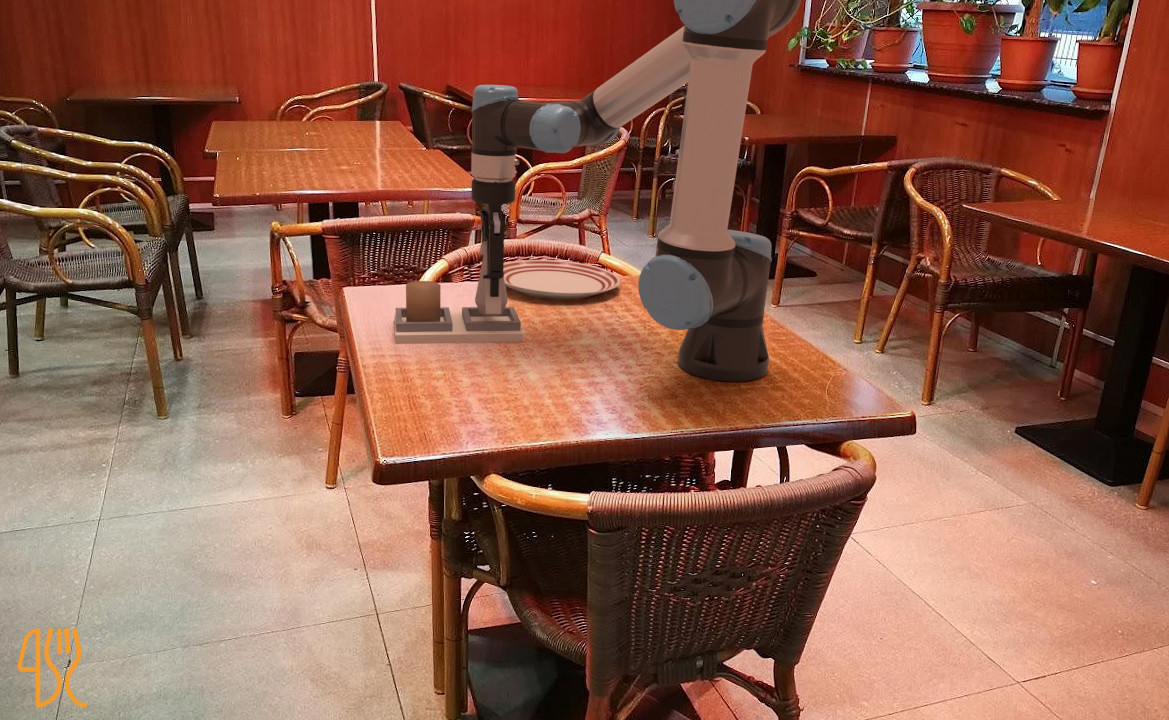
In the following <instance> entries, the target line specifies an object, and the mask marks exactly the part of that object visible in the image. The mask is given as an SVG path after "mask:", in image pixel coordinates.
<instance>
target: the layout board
mask: <svg viewBox="0 0 1169 720" xmlns="http://www.w3.org/2000/svg"><path fill="white" fill-rule="evenodd" d="M393 319H394V334H395V335H394V336H395V337H394V339H395V344H398V345H399V344H449V343H453V344H454V343H458V344H459V343H461V344H462V343H515V342H516V343H517V342H518V343H520V342H521V343H523V341H524V333H523V331H522V330H523V329H522V327H521V326H522V322H521V320H520V317H519V315H518V313H517V310H516V309H515V306H505V309H504V311H503V313H502V314H500V315H496V316H490V315H483V314H481V313H480V312H479V310H478V307H477V306H471V307H470V306H468V307H467V306H463V307H461V311H460V312H454V311H452V312H451V311H450V307H449V306H448V307H446V306H445V307H441V284H440V283H438V282H435V281H429V280H415V281H409V282H407V283H406V284H405V307H395V312H394V318H393Z"/></svg>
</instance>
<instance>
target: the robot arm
mask: <svg viewBox="0 0 1169 720" xmlns="http://www.w3.org/2000/svg"><path fill="white" fill-rule="evenodd" d="M801 2H802V0H673V5H674V9H675V12H676V13H678V15H679V18H680V21H681V22H682V23H683V26H682V27H681V28H679V29H678V30H676V31H675V32H674V33H673V34H670V35H669V36H668V37H667V38H665V39H664V40H662V41H661V42H660V43H658V44H657V45H656V46H654V47H652V48H651V49H650V50H649V51H647V52H646V53H644V54H643V55H642V56H640V57H638V58H637V59H636V60H635V61H634V62H632V63H630V64H629V65H628V66H626V67H624V69H622V70H621V71H619V72H618V73H616V74H615V75H614V76H613V77H610V78H609V79H608V80H607V81H605V82H604V83H603V84H601V85H600V86H598V87H597V88H596V89H594V90H593V91H591V92H590V93H589V94H588V95H586V96H585V97H583V98H582V99H580V100H572V101H571V100H568V101H554V102H536V101H524V100H520V99H519V95H518V94H519V93H518V89H517V87H515V86H512V85H503V84H502V85H501V84H500V85H499V84H480V85H477V86H476V87H474V90H473V92H472V93H473V94H472V95H473V96H472V105H471V107H472V108H471V119H472V120H471V121H472V124H471V125H472V127H471V129H472V130H471V131H472V132H471V133H472V139H471V140H472V147H471V148H472V149H471V162H470V163H471V167H470V168H471V171H470V173H471V176H472V177H473V179H472V180H471V200H472V201H473V202H474V203H477V204H481V205H483V204H484V206H481V207H482V208H481V210H480V220H481V244H482V243H483V242H484V241H487V275H483V279H486V304H485V313H486V314H501V295H502V278H503V277H504V273H503V265H504V263H505V262H504V261H505V260H504V254H505V252H504V247H505V228H506V227H505V226H506V220H507V219H506V213H504V210H503V209H502V207H503V205H509V204H513V203H514V202H515V201H516V182H515V180H514V178H515V177H516V169H517V168H516V166H519V165H520V160H519V159H518V158H517V157H516V155H517V148H523V149H529V150H533V151H535V150H536V151H541V152H544V153H546V154H551V153H557V154H565V153H568V152H570V151H571V150H572V149H573V148H574V147H576V148H577V147H586V146H600V145H601V144H602V145H603V144H605V143H608V142H611V141H613V140H614V139H615V138H616V137H617V135H618V133H619V131H620V129H621V128H622V127H623V126H624V125H626V124H627V123H628V122H631V121H632V120H633V119H635V118H636V117H637V116H639V115H641V114H642V113H644V112H645V111H647V110H648V109H649V108H651V107H653V106H655V104H657V103H659V102H660V101H662V100H663V99H665V98H666V97H667V96H669V95H671V94H672V93H674V92H676V91H678V89H680V88H681V87H683V86H685V85H686V84H687V90H686V97H685V104H684V112H683V118H682V119H683V121H682V129H681V136H680V142H679V144H680V145H679V151H678V159H677V167H676V175H675V180H674V181H675V182H674V190H673V195H672V196H673V198H672V204H671V212H670V220H669V223H668V225H666V227H664V228H663V229H662V230H660V231H659V232H658V235H657V242H656V249H655V256H653V257H652V258H650V260H649V261H648V262H647V263H646V264H645V265H644V266H643V267H642V269H641V272H640V274H639V277H638V283H637V285H638V286H637V287H638V294H639V295H638V296H639V299H640V302H641V305H642V306H643V308H644V309H645V310H646V311H647V312H648V314H649V317H651V319H652V320H654V321H655V322H656V323H657V324H658V325H660V326H662V327H664V328H667V329H670V330H672V331H673V330H674V331H685V330H686V333H685V335H684V337H683V338H682V339H683V340H682V342H681V343H680V346H679V349H678V357H677V364H678V366H679V367H680V368H681V369H682V370H684V371H686V372H687V373H690V374H691V375H695V376H697V377H701V378H704V379H709V380H712V381H713V380H714V381H721V382H723V381H724V382H747V381H754V380H758V379H760V378H763V377H765V376H766V375H767V373H768V372H769V364H770V363H769V362H770V357H769V356H770V355H769V351H768V346H767V342H766V337H765V332H764V326H763V324H764V316H765V306H766V300H767V292H768V285H769V277H770V270H771V263H772V260H773V259H772V242H771V241H770V239H769V238H767V237H766V236H764V235H760V234H756V233H751V232H746V231H740V230H735V229H734V230H733V229H728V227H729V222H730V221H729V220H730V214H731V207H732V201H733V195H734V188H735V182H736V176H737V169H738V161H739V155H740V149H741V142H742V135H743V130H744V123H745V117H746V111H747V106H748V105H747V103H748V97H749V92H750V91H749V90H750V84H751V77H752V71H753V65H754V63H755V62H756V61H757V60H758V59H759V58H760V57H762V56H763V55H764V54H765V53H766V52H767V45H768V40H769V38H770V37H772V36H774V35H775V34H777V33H779V32H780V31H781V30H783V29H784V28H785V27H786V26H787V25H788V24H790V22H791V21H792V20H793V18H794V16H795V15H796V14H797V13H798V10H799V7H800V6H801ZM483 256H484V255H482V254H481V256H480V260H481V262H482V261H483Z"/></svg>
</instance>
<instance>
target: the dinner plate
mask: <svg viewBox="0 0 1169 720" xmlns="http://www.w3.org/2000/svg"><path fill="white" fill-rule="evenodd" d="M503 273H504V281H505V287H506V288H509V289H512V290H514V291H517V292H519V293H521V294H523V295H527V296H530V297H534V298H539V297H540V299H546V298H547V299H548V300H562V301H563V300H578V299H584V298H588V297H591V296H596V295H600V294H603V293H605V292H608V291H611V290H614V289H616V288H617V287H619V285H620V284H621V278H620V277H619V276H618V275H617V274H615V273H614V272H611V271H609V270H608V269H604V268H602V267H599V266H595V265H590V264H586V263H580V262H575V261H566V260H555V259H553V260H552V259H526V260H524V259H523V260H513V261H509V262H504V265H503Z"/></svg>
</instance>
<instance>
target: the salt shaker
mask: <svg viewBox="0 0 1169 720" xmlns="http://www.w3.org/2000/svg"><path fill="white" fill-rule="evenodd" d="M505 247H506V246H504V253H505V251H506V248H505ZM479 250H480V255H481V256H482V255H484V256H483V261H482V260H481V267H480V271H479V276H478V277H479V278H478V281H477V282H478V284H477V287H476V288H477V289H476V291H475V292H476V293H475V297H474V301H475V305H476V307H478V310H479V312H480V313H481V314H483V315H490V316H496V315H500V314H486V313H485V304H486V279H483V275H487V241H484V242H483V243H482V242H481V244H480V248H479ZM507 304H508V293H507V286H505V281H504V277H503V278H502V295H501V314H502V313H503V311H504V309H505V307H507Z"/></svg>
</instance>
